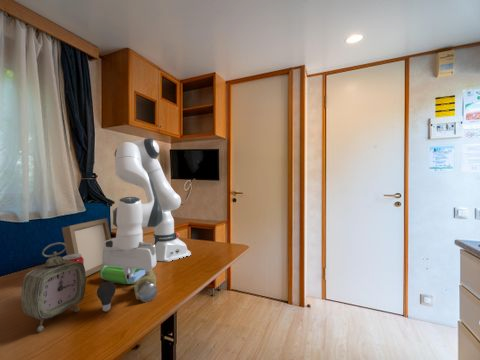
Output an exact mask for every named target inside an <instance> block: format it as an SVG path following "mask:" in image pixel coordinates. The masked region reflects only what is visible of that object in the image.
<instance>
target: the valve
mask: <svg viewBox="0 0 480 360" xmlns="http://www.w3.org/2000/svg"><path fill="white" fill-rule="evenodd" d="M135 273H137V272H134V274H135ZM133 285H134V287H133V288H134V292H133V293H134V295H135V298H136V301H137V300H140V301H141V302H143V303H148V302H151V301H153V300H154V299H155V297H156V296H157V294H158V288H157V274H156V272H155V270H154V269H153V268H152V269H150V273H148V274H145V275H143V276H142V277H141V278H139V279H138V280H137V281H136V282H134V284H133Z"/></svg>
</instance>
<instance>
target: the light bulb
mask: <svg viewBox="0 0 480 360" xmlns="http://www.w3.org/2000/svg"><path fill="white" fill-rule="evenodd" d="M116 289H117V287H116V285H115V282H110V281H105V282H102V283H101V284H100V285H99V286H98V287H97V290H96V296H97V298H98V299H99V301H100V302H101V303H100V304H101V305H102V306H101V308H102V311H103V312H108V311H109V310H111V306H112V305H111V304H112V300H113V298H114V295H115V293H116Z"/></svg>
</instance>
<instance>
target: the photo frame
mask: <svg viewBox="0 0 480 360" xmlns="http://www.w3.org/2000/svg"><path fill="white" fill-rule="evenodd" d="M109 226H110V225H109V221H108V218H107V217H106V218H101V219H95V220H90V221H87V222H81V223H76V224H73V225H67V226H65V227H61V230H62V231H61V232H62V237H63V239H64V242H63V243H64V244H66V250H65V252H66V256H67V255H71V254H81V255H82V257H83V258H84V268H85V275H86V278H87V277H88V276H91V275H93V274H94V273H95V274H96V273H97V272H100V270H101V268H102V267H103V266H104V264H103V250H104V248H105V247H104V245H103V243H104V241H107V240H109V239H112V237H111V232H110V227H109Z"/></svg>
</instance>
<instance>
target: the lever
mask: <svg viewBox="0 0 480 360" xmlns="http://www.w3.org/2000/svg"><path fill="white" fill-rule="evenodd" d="M148 273H150V270H148V269H140V270H139V271H138V272H137V273H135V274H134V275H133V276H131V277H129V282H132V283H134V282H136V281H137V280H138V279H139V278H141V277H142V276H143V275H145V274H148Z"/></svg>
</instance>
